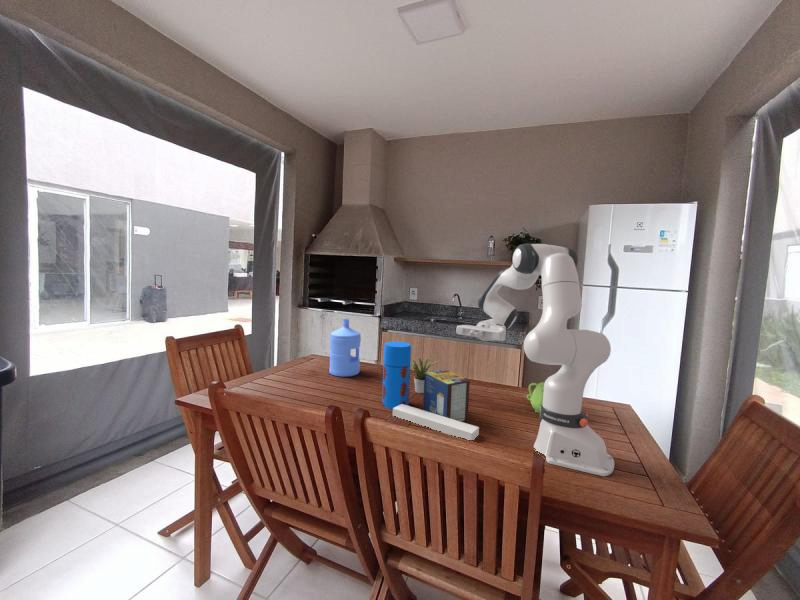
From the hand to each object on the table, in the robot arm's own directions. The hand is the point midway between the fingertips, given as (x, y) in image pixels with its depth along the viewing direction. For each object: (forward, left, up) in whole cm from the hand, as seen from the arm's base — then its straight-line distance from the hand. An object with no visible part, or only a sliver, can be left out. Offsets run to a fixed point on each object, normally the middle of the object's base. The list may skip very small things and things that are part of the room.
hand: (472, 334), depth 147 cm
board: (+2, +25, -30) cm, 39 cm away
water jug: (+70, 0, -30) cm, 76 cm away
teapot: (-27, -16, -30) cm, 44 cm away
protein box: (+3, +14, -30) cm, 34 cm away
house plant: (+24, -4, -30) cm, 39 cm away
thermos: (+24, +18, -30) cm, 43 cm away
